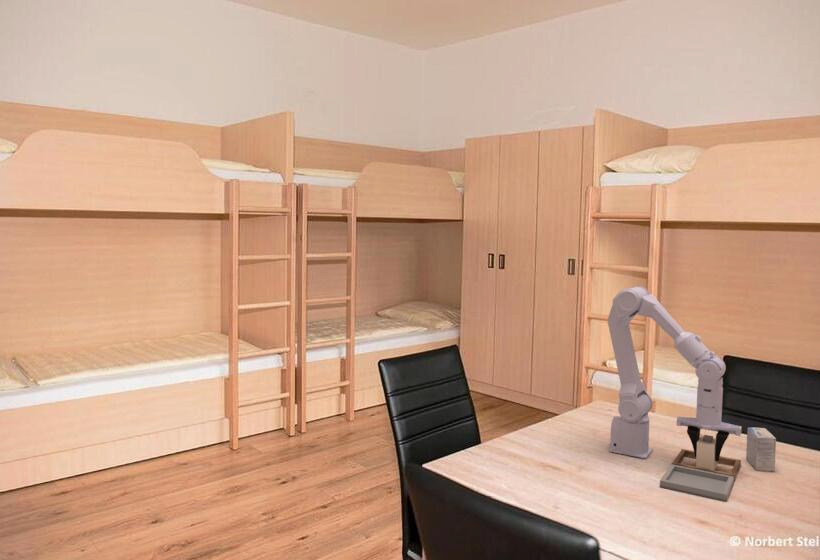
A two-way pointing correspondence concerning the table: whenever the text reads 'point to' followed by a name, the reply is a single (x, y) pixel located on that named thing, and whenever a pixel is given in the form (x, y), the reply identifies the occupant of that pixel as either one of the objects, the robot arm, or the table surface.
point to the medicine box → (761, 449)
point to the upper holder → (723, 460)
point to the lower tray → (697, 482)
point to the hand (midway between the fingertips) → (706, 458)
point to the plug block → (706, 452)
